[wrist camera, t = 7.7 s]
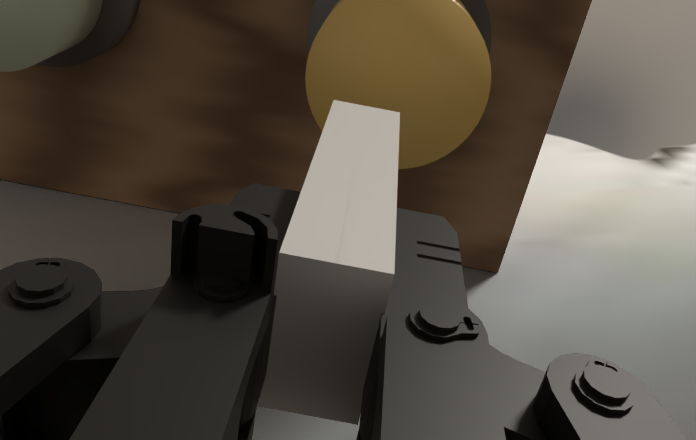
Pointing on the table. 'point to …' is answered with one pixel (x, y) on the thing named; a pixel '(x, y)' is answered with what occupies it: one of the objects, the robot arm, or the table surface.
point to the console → (266, 110)
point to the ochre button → (404, 70)
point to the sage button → (42, 29)
